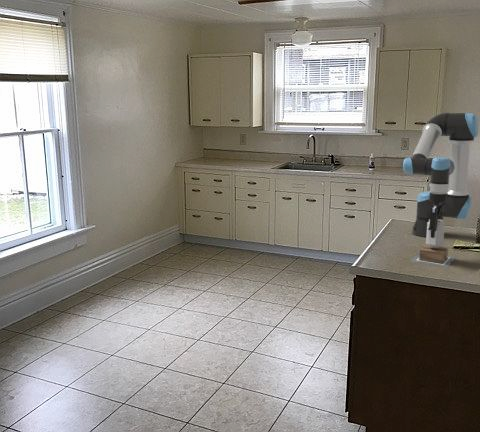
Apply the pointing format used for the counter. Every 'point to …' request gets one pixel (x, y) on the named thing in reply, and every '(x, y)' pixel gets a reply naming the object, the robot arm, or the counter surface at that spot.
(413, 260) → the grey flat plate
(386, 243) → the counter surface
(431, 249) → the walnut block
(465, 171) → the robot arm
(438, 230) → the can
